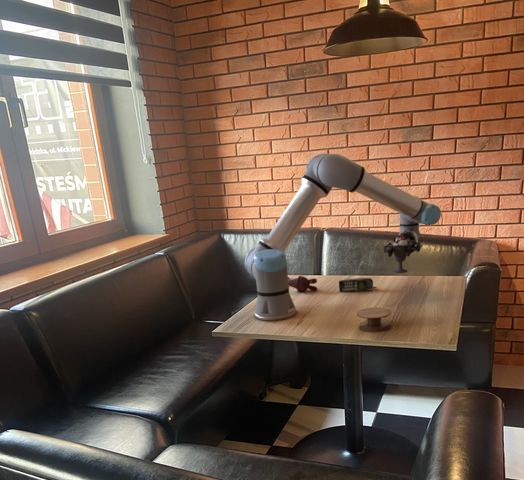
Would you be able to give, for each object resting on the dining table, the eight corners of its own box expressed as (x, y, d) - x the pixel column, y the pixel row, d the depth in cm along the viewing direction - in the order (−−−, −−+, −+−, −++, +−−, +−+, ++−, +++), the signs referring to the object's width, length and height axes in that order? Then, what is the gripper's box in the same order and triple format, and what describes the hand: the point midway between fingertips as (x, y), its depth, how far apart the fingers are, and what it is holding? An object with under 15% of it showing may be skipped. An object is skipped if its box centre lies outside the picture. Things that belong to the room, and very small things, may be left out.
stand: (351, 325, 178) (350, 311, 177) (380, 319, 181) (379, 305, 180) (367, 334, 169) (367, 319, 167) (398, 328, 172) (398, 313, 170)
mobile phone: (338, 281, 218) (376, 277, 215) (338, 279, 221) (375, 276, 217) (339, 292, 220) (376, 289, 216) (339, 291, 222) (376, 288, 219)
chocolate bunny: (280, 279, 224) (314, 282, 219) (285, 271, 230) (319, 273, 225) (281, 293, 228) (315, 296, 223) (286, 285, 234) (319, 287, 229)
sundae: (410, 273, 192) (410, 231, 187) (391, 274, 194) (390, 232, 189) (409, 269, 198) (409, 228, 193) (391, 270, 200) (390, 229, 195)
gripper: (431, 249, 207) (426, 262, 187) (382, 251, 214) (372, 263, 194) (431, 230, 204) (426, 241, 184) (382, 232, 211) (371, 243, 191)
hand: (398, 252), depth 189 cm, fingers closed on sundae, 6 cm apart
